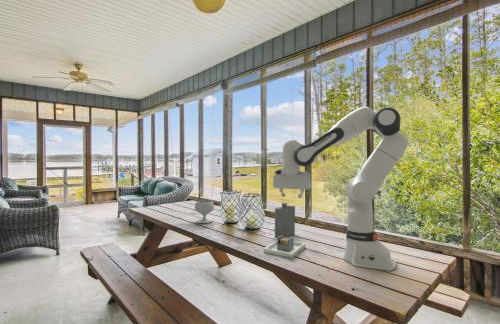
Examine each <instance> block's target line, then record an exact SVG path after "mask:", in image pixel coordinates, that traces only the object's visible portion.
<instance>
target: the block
mask: <svg viewBox="0 0 500 324" xmlns="http://www.w3.org/2000/svg"><path fill="white" fill-rule="evenodd" d="M288 239H289V238H287V237H283V238H282V239H281V240H280V244H282V245H287V246H288Z"/></svg>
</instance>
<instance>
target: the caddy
mask: <svg viewBox="0 0 500 324" xmlns="http://www.w3.org/2000/svg"><path fill="white" fill-rule="evenodd" d="M282 238H284V236H283V235H281V236H279V237H278V238H276V241H277V250H282V251H287V252H289V251H290V250H292V249H293V246H294V241H295V240H294V238H295V237H294V235H291V237H290V238H287V239H288V246H287V245H282V244H280V240H281V239H282Z"/></svg>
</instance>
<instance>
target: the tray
mask: <svg viewBox="0 0 500 324" xmlns="http://www.w3.org/2000/svg"><path fill="white" fill-rule="evenodd" d="M305 249H306V242H299V241H295V240H294V246H293V249H292V250H290V251H289V252H287V251H282V250H277V240H275V241H274V242H271V244H269V245H267V246H265V247H264V248H263V253H265V254H270V255H274V256H278V257H283V258H287V260H293V259H294V258H295V257H297V255H300V253H301V252H302V251H303V250H305Z"/></svg>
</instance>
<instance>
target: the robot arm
mask: <svg viewBox="0 0 500 324" xmlns="http://www.w3.org/2000/svg"><path fill="white" fill-rule="evenodd" d="M400 128H401V115H400V113H399V111H398V110H397V109H395V108H393V107H387V106H386V107H383V108H380V109H379V110H378V111H377V112H374V110H373V109H372V108H371V107H369V106H361V107H360V108H357V109H355V110H353V111H351V112H350V113H348V114H347V115H346V116H344V117H342V119H340V120H339V121H338V122H336V124H334V125H333V126H332V127H331V128H330V129H329V130H328V131H327V132H326V133H324V134H323V135H321V136H320V137H319V138H317V139H315V140H313V141H312V142H310V143H307V144H304V143H301V142H300V141H298V140H297V139H293V140H288V141H285V142H284V144H283V146H282V160H283V161H282V168H279V169H276V170H274V171H273V172H274V173H273V174H274V176H273V178H272V179H273V180H272V186H273V189H279V190H278V191H279V193H281V194H280V195H281V197H282V198H285V197H286V193H285V192H284V189H285V190H299V191H300V193H299V194H298V198H299V199H302V198H303V194H304V192H305V190H310V189H311V188H312V187H311V185H312V184H311V177H312V176H311V175H312V174H311V173H310V172H308V171H303V170H300V169H301V168H300V167H307V166H310V165H312V164H314V163H316V162H317V161H318V158H319V155H320V154H321V153H322V152H324V151H326V150H327V149H329V148H330V147H332V146H334V145H337V144H339V143H345V142H347V141H350V140H352V139H354V138H356V137H357V136H359V135H361V134H362V133H364V132H365V131H367V130H371V131H373V132H374V133H375V134H377V135H378V136H380V137H381V139H380V141H379V143H378V145H377V146H376V147H375V149H374V150H373V151H372V153H371V154H370V155H369V157H368V158H367V159H366V160H365V162H364V164H363V165H362V167H361V168H360V171H359V172H358V173H357V175H356V176H354V177H352V178H351V179H349V181H348V182H347V189H346V190H347V195H346V196H347V227H346V231H345V234H346V235H345V238H346V245H345V246H346V247H345V252H344V255H343V259H344V261H346V262H347V263H350V264H351V265H353V266H354V267H358V268H366V269H372V270H373V269H374V270H380V271H381V270H382V271H387V272H388V271H389V272H390V271H395V269H396V268H397V261H396V260H395V259H393V258H392V257H391V251H390V249H389V248H388V247H387V246H385V245H384V244H383V243H381V242H380V240H379V239H378V238H379V237H378V232H377V231H376V232H375V231H374V212H373V199H374V197H375V196H376V194H377V193H378V191H379V190H380V188H381V186H382V185H383V184H384V181H385V180H386V178H387V177H388V175H389V174H390V172H391V171H392V170H393V169H394V168H395V166H396V165H397V164H398V162H399V160H401V158H402V157H403V155H404V153H405V151H406V150H407V147H408V145H409V140H408V138H407V137H406V136H405V135H404V134H403V133H401V132H400V130H401V129H400Z"/></svg>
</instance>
